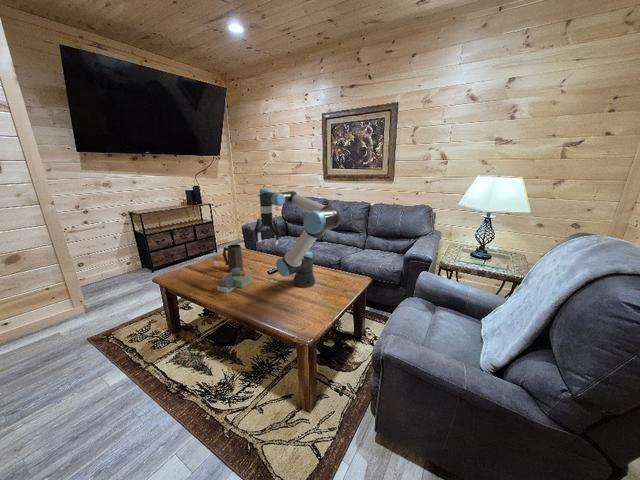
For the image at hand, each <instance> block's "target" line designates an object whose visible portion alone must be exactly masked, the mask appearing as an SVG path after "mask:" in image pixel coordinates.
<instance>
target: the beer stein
mask: <svg viewBox="0 0 640 480" xmlns="http://www.w3.org/2000/svg"><path fill="white" fill-rule="evenodd" d="M226 251H227V253H226ZM222 256H223V259H224V262H225V263H224V266H228V272H229V273H231V269H232V268H240V270H241V272H243V270H244V264H243V255H242V246H241V244H238V243H236V244H230V245H227V246H226V247H225V246H224V247H223V251H222Z"/></svg>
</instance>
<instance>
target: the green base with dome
mask: <svg viewBox="0 0 640 480" xmlns="http://www.w3.org/2000/svg"><path fill="white" fill-rule="evenodd" d="M226 276H232V277H234V287H233V288H231V289H230V290H228V288H225V287H221V286H220V285H217V286H216V290H217V292H221V293H225V294H228V293H230V292H231V291H233V290H234V289H236V288H241V289H243V288H244V287H246V286H247V285H249V284H251V283H253V282H254V275H253V273H248V272H245V271H241V270H240V268H232V269H231V272H229V273H227V274H224V275H223V276H221V277H222V278H224V277H226ZM222 278H221V279H222Z"/></svg>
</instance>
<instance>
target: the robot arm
mask: <svg viewBox="0 0 640 480" xmlns="http://www.w3.org/2000/svg"><path fill="white" fill-rule="evenodd" d="M259 204H260V205H259V207H260V218H257V221H256V224H255V227H254V229H253V232H255V233H256V238H257V243H261V242H262V233H261V231H262V229H263V228H264V227H268V228H270V229H271V230H272V232H273V233H274V245H275V246H277V245H279V240H280V238H279V237H280V235H282V232H281V229H280V227H279V224H278V222H277V220H276V219H275V220H273V206H279V207H280V206H284V205H288V204H291V205H293V206H295V207H297V208H299V209H301V210H304V211H305V212H307V213H306V214H305V215H304V217H303V221H302V222H303V223H302V224H303V231H302V233H301V234H300V236H299V237H298V238H297V240H296V242H295V243H294V245H293V246H292V248H291V249H290V250H289V251H287V252H285V254H284V255H283V257H282V258H279V259H277V260H276V263H275V265H276V269H277V272H278V273H279V275H280V276H281V277H285V278H286V277H290V276H291V275H294V277H293V281H292V282H293V285H294V286H295V287H298V288H309V287H312V286H314V285H315V284H316V277H315V275H314V255H313V252H312V251H311V250H310V248H311V247H312V246H313V244H314V243H315V242H316V240H317V239H320V238H322V236H323V235H324V234H325V232H326V231H330V230H332V229H333V230H334V229H335V228H337V227H338V226H339V225H340V223H341V219H342V218H341V213H340V212H339V210H338V209H336V207H334V206H330V205H329V204H327V205H324V204H321V203H319V202H317V201H314V200H313V199H310V198H307V197H305V196H303V195H301V194H300V193H299V191H296V190H292V191H282V192H272V189H271V188H268V187H267V188H266V187H265V188H260V189H259Z"/></svg>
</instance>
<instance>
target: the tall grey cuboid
mask: <svg viewBox="0 0 640 480" xmlns="http://www.w3.org/2000/svg"><path fill="white" fill-rule="evenodd" d="M219 283H220V285H219V286H221V287H225V288H228V290H230V289H231V288H233V287H234V277H232V276H226V277H224V278H220V279H219Z"/></svg>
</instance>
